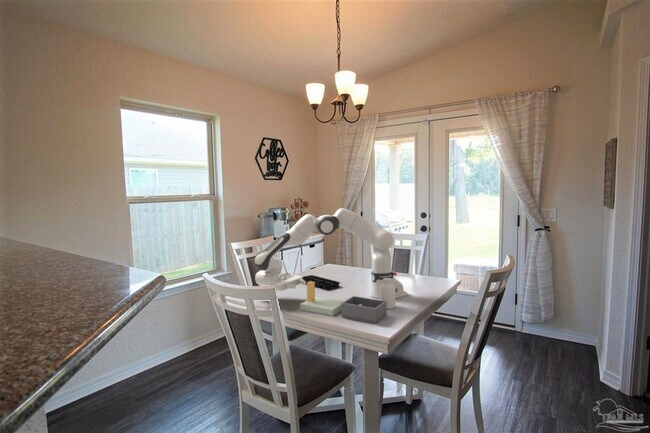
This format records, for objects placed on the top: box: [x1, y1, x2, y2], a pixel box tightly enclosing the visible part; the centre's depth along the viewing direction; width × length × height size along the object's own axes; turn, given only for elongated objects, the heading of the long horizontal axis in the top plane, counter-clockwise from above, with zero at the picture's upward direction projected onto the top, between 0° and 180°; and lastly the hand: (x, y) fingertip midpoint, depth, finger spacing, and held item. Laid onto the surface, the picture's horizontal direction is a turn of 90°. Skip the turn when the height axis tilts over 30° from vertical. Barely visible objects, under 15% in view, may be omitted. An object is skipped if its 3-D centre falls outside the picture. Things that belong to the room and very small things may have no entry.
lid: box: [299, 281, 345, 317], centre depth 185 cm, size 19×14×13 cm
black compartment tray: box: [302, 274, 341, 291], centre depth 233 cm, size 18×30×4 cm, turn 54°
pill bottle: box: [379, 278, 396, 310], centre depth 186 cm, size 8×8×15 cm
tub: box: [340, 295, 387, 324], centre depth 173 cm, size 18×13×7 cm
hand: (300, 284), depth 192 cm, fingers open, 8 cm apart
